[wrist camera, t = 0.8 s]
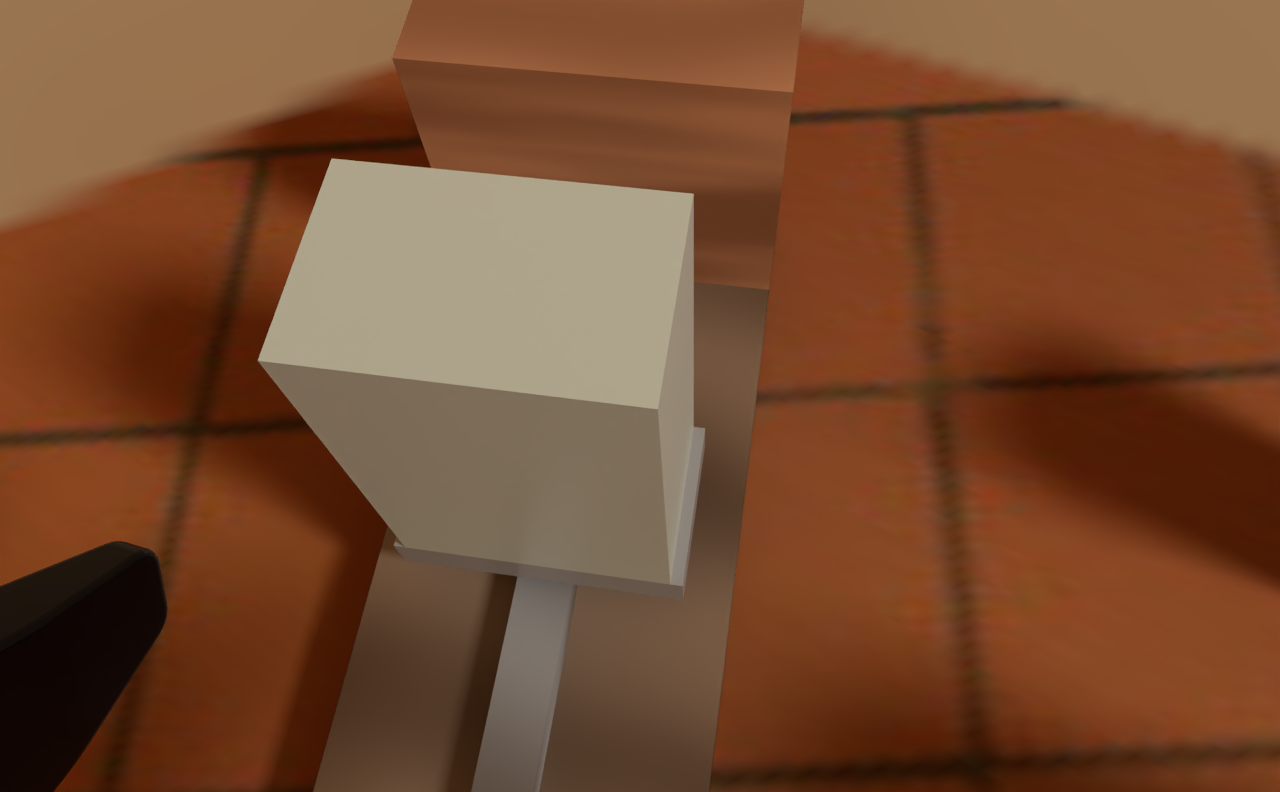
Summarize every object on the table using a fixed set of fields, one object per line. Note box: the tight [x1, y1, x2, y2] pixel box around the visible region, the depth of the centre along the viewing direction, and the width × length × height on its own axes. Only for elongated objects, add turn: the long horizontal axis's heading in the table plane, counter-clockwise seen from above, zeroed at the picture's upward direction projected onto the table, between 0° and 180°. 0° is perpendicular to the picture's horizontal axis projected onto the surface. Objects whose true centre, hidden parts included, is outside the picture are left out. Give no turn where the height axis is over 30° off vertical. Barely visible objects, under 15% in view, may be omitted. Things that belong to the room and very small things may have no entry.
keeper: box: [258, 159, 705, 600], centre depth 18 cm, size 4×6×9 cm, turn 81°
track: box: [313, 0, 804, 792], centre depth 21 cm, size 18×8×8 cm, turn 171°
